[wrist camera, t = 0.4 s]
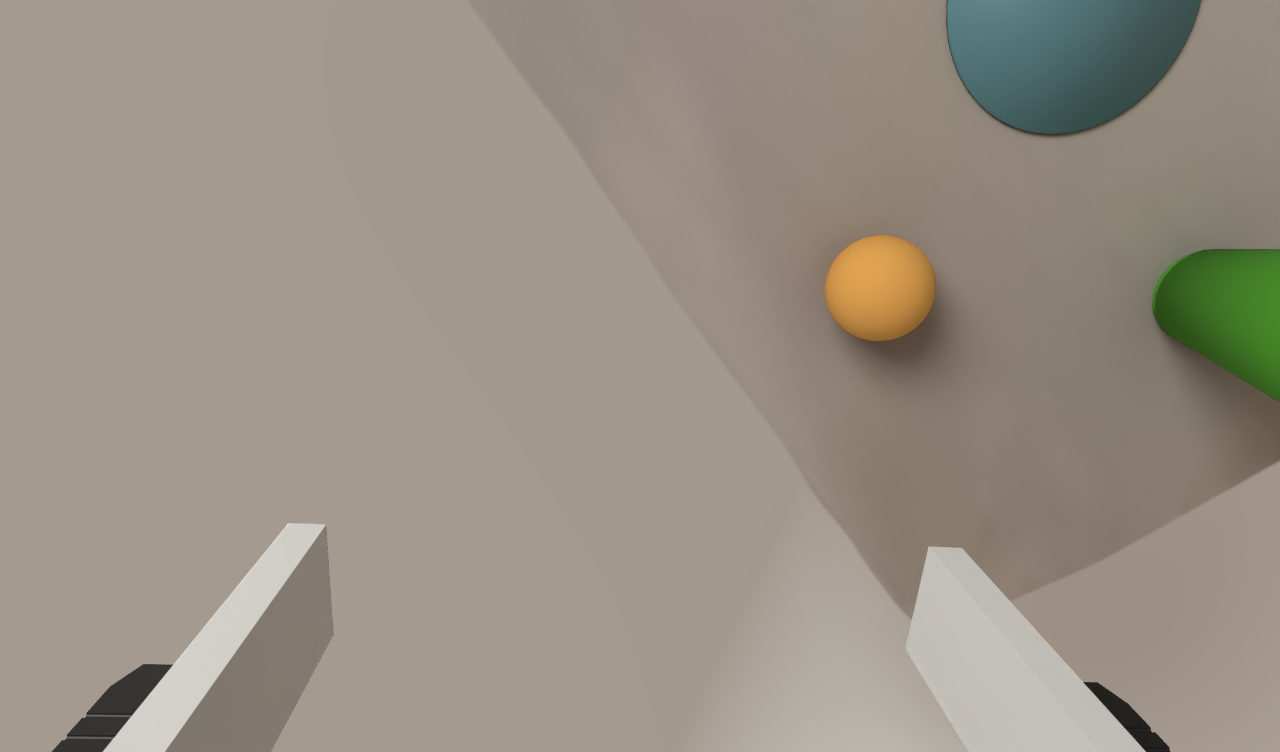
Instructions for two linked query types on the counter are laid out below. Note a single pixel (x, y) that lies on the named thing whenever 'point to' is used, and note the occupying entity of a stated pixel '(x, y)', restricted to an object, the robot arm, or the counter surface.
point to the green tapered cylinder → (1227, 311)
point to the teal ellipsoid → (1064, 56)
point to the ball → (880, 288)
